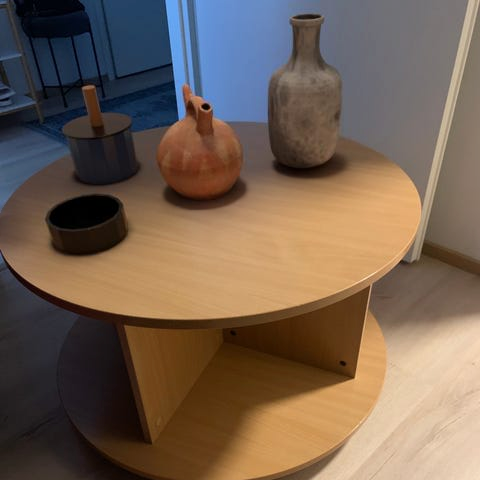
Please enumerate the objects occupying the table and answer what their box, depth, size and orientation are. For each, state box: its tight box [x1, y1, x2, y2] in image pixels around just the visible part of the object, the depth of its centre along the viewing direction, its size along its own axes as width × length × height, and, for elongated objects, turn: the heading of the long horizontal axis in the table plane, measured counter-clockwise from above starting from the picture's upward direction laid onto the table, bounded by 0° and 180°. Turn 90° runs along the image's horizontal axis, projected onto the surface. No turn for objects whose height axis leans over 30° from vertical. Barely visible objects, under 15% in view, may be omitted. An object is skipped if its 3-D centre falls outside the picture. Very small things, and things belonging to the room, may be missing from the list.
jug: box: [156, 83, 244, 201], centre depth 105 cm, size 18×18×20 cm
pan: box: [44, 193, 129, 255], centre depth 97 cm, size 14×14×5 cm
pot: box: [65, 126, 139, 185], centre depth 118 cm, size 14×14×10 cm
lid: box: [61, 85, 133, 140], centre depth 112 cm, size 16×16×9 cm
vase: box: [267, 12, 343, 169], centre depth 109 cm, size 16×16×30 cm
